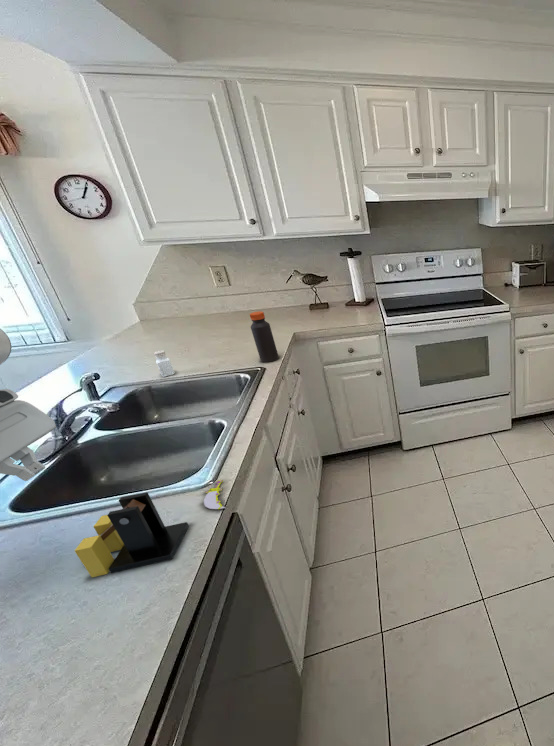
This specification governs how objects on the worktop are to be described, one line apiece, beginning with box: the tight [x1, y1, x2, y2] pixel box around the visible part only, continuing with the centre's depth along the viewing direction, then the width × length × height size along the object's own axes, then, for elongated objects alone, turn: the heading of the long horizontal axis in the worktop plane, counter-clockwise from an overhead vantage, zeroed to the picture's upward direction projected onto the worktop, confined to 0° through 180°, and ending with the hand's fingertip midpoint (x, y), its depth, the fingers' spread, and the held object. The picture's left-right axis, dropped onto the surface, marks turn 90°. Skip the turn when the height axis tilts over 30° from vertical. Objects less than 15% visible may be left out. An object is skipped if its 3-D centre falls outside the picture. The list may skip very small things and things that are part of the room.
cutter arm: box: [100, 499, 146, 541], centre depth 79 cm, size 15×3×3 cm
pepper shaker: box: [153, 350, 176, 378], centre depth 158 cm, size 4×4×10 cm
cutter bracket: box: [106, 491, 190, 574], centre depth 80 cm, size 10×9×12 cm
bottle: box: [249, 310, 280, 363], centre depth 167 cm, size 7×7×20 cm
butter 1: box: [92, 514, 124, 553], centre depth 82 cm, size 2×3×7 cm
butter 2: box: [74, 534, 115, 578], centre depth 77 cm, size 2×3×7 cm
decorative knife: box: [203, 479, 227, 510], centre depth 96 cm, size 12×1×5 cm
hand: (36, 474), depth 72 cm, fingers closed
